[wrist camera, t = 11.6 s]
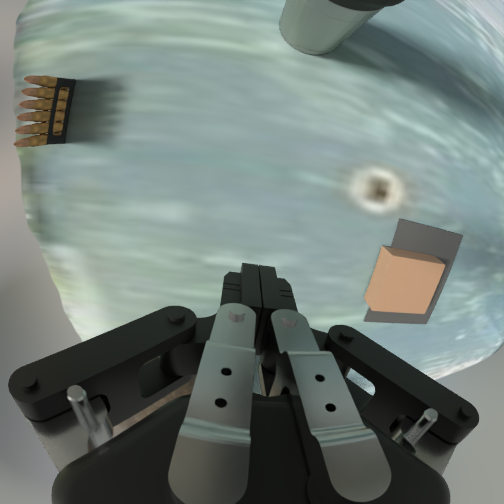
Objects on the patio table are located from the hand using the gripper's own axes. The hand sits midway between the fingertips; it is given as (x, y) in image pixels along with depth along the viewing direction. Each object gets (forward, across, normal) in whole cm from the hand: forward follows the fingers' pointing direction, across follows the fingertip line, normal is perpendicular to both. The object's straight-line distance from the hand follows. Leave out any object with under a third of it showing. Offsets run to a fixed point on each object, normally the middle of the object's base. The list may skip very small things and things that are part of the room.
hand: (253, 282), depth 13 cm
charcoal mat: (+29, -33, +11) cm, 45 cm away
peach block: (+27, -23, +11) cm, 37 cm away
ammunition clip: (+29, +31, -9) cm, 44 cm away
